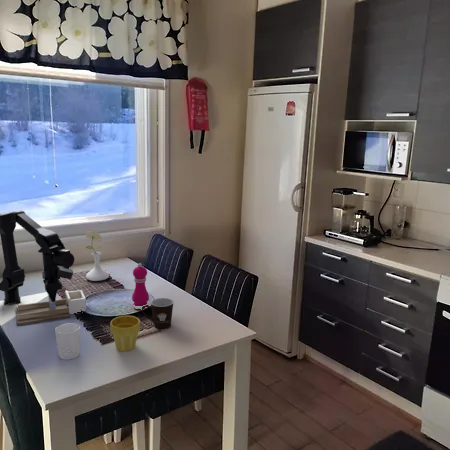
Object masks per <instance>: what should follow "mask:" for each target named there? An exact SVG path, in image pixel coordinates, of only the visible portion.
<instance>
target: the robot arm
mask: <svg viewBox="0 0 450 450" xmlns="http://www.w3.org/2000/svg"><path fill="white" fill-rule="evenodd" d="M17 225H18V226H20V227H21V228H22V229H24V230H25V231H26V232H28V233H29V234H30V235H31V236H32V237H34V238H35V239H34V240H35V243H36V244H37V245H38V246H39V247H40V249H39V250H37V251H38V252H37V253H42V268H43V269H42V270H43V272H41V275H42V276H41V277H42V279H43V280H42V282H43V284H44V291H45V292H46V293H47V295H48V298H49V297H50V299H51V301H52V302H55V300H57V299H56V298H57V294H58V290H59V291H60V290H63V284H62V281H61V278H62V279H67V280H72V279H73V278H72V277H73V275H74V271H73V269H72V268H71V267H72V266H73V265H74V263H75V255H74V254H73V253H72V252H71V250H70V249H66V246H65V245H64V243H63V242H62V240H61V238H60V235H59V234H58V233H56V232H54V231H53V230H52V229H51V230H50V229H48V228H44V227H43V226H41V225H40V224H39V223H38V222H36V221H35V220H34V219H33V218H31V217H30V216H29V215H28V214H26V212H25V210H21V209H20V210H16V211H12V212H11V211H8V212H1V213H0V240H1V241H0V242H1V248H2V254H3V261H4V266H5V267H4V269H3V272H2V280H1V282H0V292H4V294H3V295H4V298H3V299H4V300H3V301H4V302H3V305H5V306H6V305H11V304H20V303H22V301H21V296H20V289H19V288H20V287H23V286H24V282H25V281H26V280H25V278H26V274H25V268H21V266H19V263H18V257H17V250H16V249H17V248H16V242H15V237H14V232H15V229H16V226H17Z"/></svg>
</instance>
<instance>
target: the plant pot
mask: <svg viewBox="0 0 450 450" xmlns="http://www.w3.org/2000/svg"><path fill="white" fill-rule="evenodd" d="M109 327H110V329H109V330H110V333H111V334H112V336H113V340H114V341H113V342H114V344H115V348H116V351H117V350H118V351H119V352H129V351H132V350H134V349H135V348H136V343H137V340H138V334H139V332H140V331H141V320H140V318H139V317H136V316H134V315H121V316H116V317H115V318H113V319H112V320H111V321H110V324H109Z"/></svg>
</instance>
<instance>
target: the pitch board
mask: <svg viewBox="0 0 450 450" xmlns="http://www.w3.org/2000/svg"><path fill="white" fill-rule="evenodd" d="M55 301H56V303H55V305H56V309H52V310H50V307H49V300H46V301H39V302H33V303H26V304H25V303H23V304H17V306H16V322H17V327H19V326H25V325H30V324H31V325H32V324H37V323H43V322H50V321H55V320H56V321H57V320H62V319H69V318H71V314H70V313H69V306H67V304H66V298H60V299H56V300H55Z"/></svg>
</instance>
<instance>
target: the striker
mask: <svg viewBox="0 0 450 450" xmlns="http://www.w3.org/2000/svg"><path fill="white" fill-rule="evenodd" d="M48 301H49V307H50V310H52V309H56V305H55V303H56V301H55V302H52V301H51V299H50V297H49V296H48Z"/></svg>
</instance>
